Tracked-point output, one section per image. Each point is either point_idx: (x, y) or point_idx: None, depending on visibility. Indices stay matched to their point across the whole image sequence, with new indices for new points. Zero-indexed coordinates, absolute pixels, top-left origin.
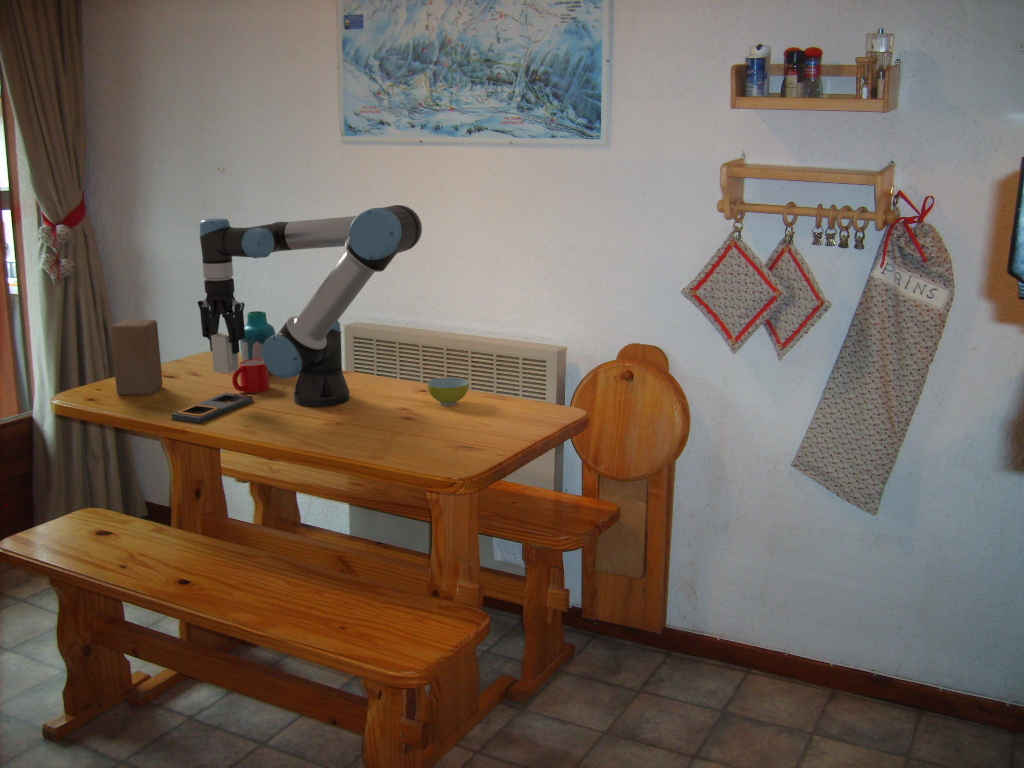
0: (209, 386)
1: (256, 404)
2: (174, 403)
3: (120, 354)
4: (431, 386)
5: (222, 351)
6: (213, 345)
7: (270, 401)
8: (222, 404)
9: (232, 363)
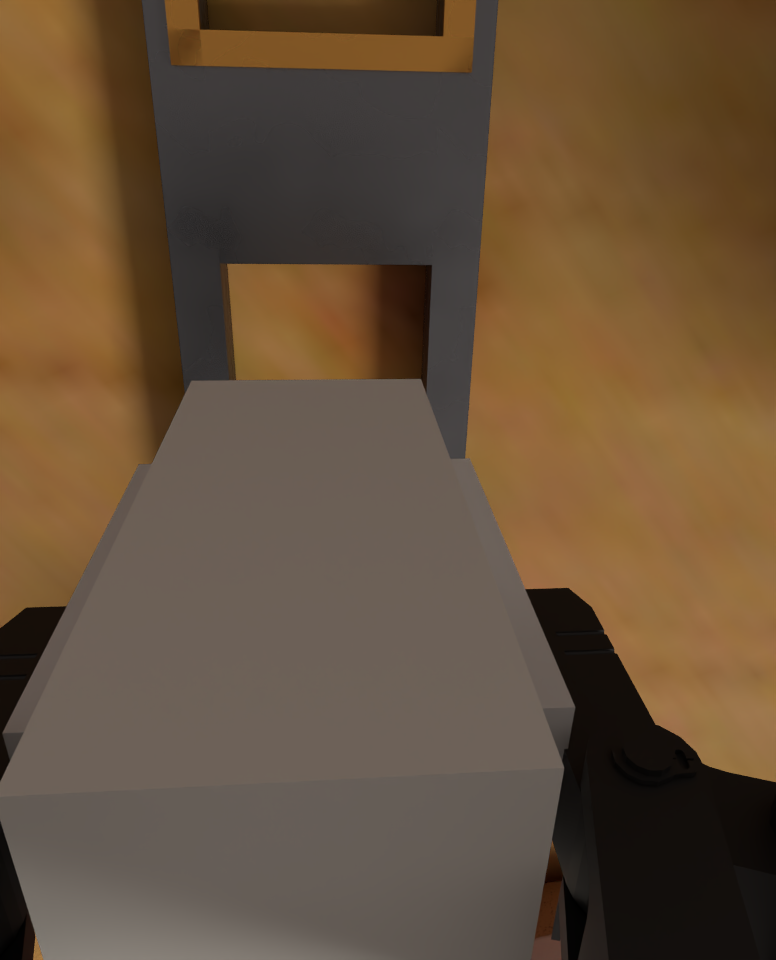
0: (722, 647)
1: (121, 437)
2: (771, 197)
3: None
4: None
5: (217, 529)
6: (451, 589)
7: (86, 537)
8: (252, 201)
9: (130, 492)
